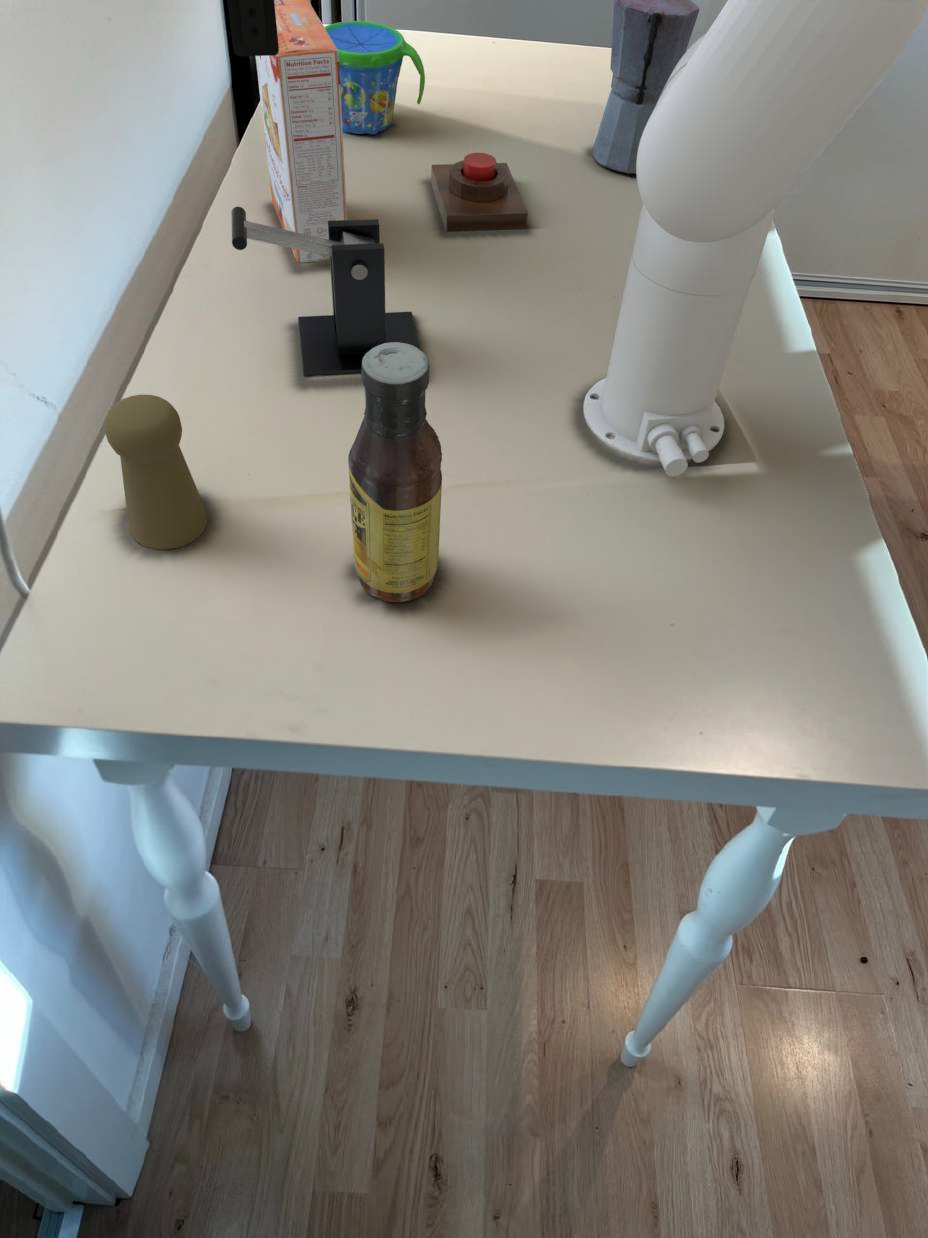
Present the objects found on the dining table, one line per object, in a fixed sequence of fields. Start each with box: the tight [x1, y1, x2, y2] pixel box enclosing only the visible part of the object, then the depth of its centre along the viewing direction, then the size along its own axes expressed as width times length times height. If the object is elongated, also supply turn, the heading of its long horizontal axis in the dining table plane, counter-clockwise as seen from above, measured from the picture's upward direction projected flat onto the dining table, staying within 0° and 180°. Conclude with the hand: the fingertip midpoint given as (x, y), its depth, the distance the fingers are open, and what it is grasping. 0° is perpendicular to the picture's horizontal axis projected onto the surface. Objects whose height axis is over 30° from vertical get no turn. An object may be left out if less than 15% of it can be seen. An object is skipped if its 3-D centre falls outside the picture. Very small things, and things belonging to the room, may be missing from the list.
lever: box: [230, 206, 375, 257], centre depth 80 cm, size 12×5×2 cm, turn 99°
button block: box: [430, 159, 529, 233], centre depth 107 cm, size 12×9×4 cm
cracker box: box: [255, 0, 348, 264], centre depth 94 cm, size 14×6×21 cm, turn 18°
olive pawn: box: [104, 393, 209, 550], centre depth 70 cm, size 6×6×11 cm
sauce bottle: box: [347, 342, 443, 603], centre depth 64 cm, size 6×6×20 cm
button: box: [463, 152, 497, 181], centre depth 105 cm, size 4×4×2 cm
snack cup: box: [324, 20, 426, 136], centre depth 117 cm, size 16×10×10 cm
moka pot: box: [592, 0, 700, 175], centre depth 110 cm, size 10×15×20 cm, turn 174°
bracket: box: [297, 218, 422, 378], centre depth 85 cm, size 11×9×12 cm
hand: (253, 28), depth 71 cm, fingers open, 9 cm apart
